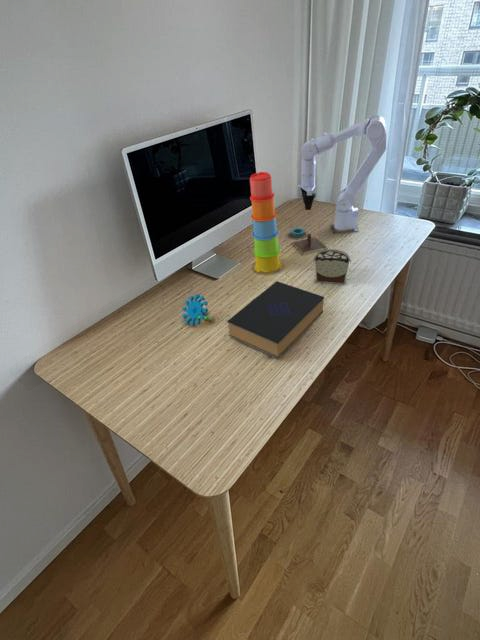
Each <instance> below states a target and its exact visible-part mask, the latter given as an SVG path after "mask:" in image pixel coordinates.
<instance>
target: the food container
mask: <svg viewBox="0 0 480 640" xmlns="http://www.w3.org/2000/svg"><path fill="white" fill-rule="evenodd" d="M312 261H313V262H314V265H315V281H316V283H327V284H339V285H345V282H346V278H347V274H348V269H349V264H350V265H352V260H351V257H350V255H349V253H347V252H346V251H344V250H340V249H334V248H333V249H332V248H331V249H330V248H329V249H324V250H320V251H318V252H317V253H315V255H314V257H313V260H312Z"/></svg>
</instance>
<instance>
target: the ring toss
mask: <svg viewBox="0 0 480 640" xmlns="http://www.w3.org/2000/svg"><path fill="white" fill-rule="evenodd" d="M306 235H307V236H306V239H301V240H296V241H293V242H292V243H293V245H295V246H296V247H297V248H298V249H299V250H300V251H301V252H302V253H303V254H304V253H309V252H312V251H317V250H321V249H325V248H327V247H326V245H324V244H323V243H322V242H321V241H319V240H318V239H317V238H316V237H312V234H311V233H308V234H306Z"/></svg>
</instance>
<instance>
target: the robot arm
mask: <svg viewBox="0 0 480 640" xmlns="http://www.w3.org/2000/svg"><path fill="white" fill-rule="evenodd" d="M356 136H359V137H362V138H365V136H366V137H367V138H368V140H369V141H370V145H371V148H370V150H369V152H368V153H367V155H366V157H365V158H364V159H363V161H362V163H361V164H360V166H359V167H358V169H357V170H356V172H355V173H354V175H353V177H352V178H351V180H350V181H349V183H348V184H347V185H346V186H345V188H343V189H342V190H341V191H340V192H339V193H338V195H337V199H336V203H335V208H334V209H335V210H334V221H333V222H334V224H333V228H334V229H335V230H337V231H351V230H353V231H354V232H358V225H359V224H358V223H359V209H358V207H354V205H353V203H354V202H353V201H355V198H356V196H357V194H358V192H359V190H360V189H361V188H362V186H363V185H364V183H365V182H366V180H367V179H368V178H369V176H370V175H371V173H372V171H373V170H374V169H375V167H376V165H377V164H378V162H379V161H380V159H381V158H382V156H383V155H384V154H385V152H386V150H387V125H386V121H385V119H384V117H383V116H381V115H374V116H371V117H370V118H365V119H362V120H361V121H358V122H356V123H354V124H352V125H350V126H348V127H346V128H344V129H342V130H340V131H338V132H336V133H332V132H324V133H322V135H321V136H319V137H316V138H311V139H310V140H308V141H305V142H304V144H303V145H302V147H301V149H300V156H301V163H300V184H297V188H299V189H300V191H301V197H302V201H303V204H304V209H305V211H311V210H312V208H313V203H314V200H315V198H316V196H317V193H316V192H313V191H314V189H315V188H316V164H317V162H316V155H320V154H323V153H325V152H327V151H331V150H332V149H334V148H335V147H336V144H338V143H340V142H342V141H345V140H348V139H350V138H353V137H356Z"/></svg>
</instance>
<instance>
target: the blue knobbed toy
mask: <svg viewBox="0 0 480 640" xmlns="http://www.w3.org/2000/svg"><path fill="white" fill-rule="evenodd" d="M188 299H189V300H187V299H186V300H185V301H184V305H185V306H183V307H182V308H181V311H182V312H186V314H185V313H182V315H181V316H182V318H183V319H184V323H185V324H187V325H190V326H193V327H194V326H195V324H196V325H200V324H201V320H202V321H204V322H213V319H212V318H210V317H209V316H208V315H207V314H208V312H209V309H208V308H206V307H207V306H208V305H209V302H208V301H207V300H205V299H206V297H205V296H204V295H200V294H197V293H195V295H190V296H189V297H188ZM202 301H203V302H202ZM203 306H206V307H203ZM187 318H188V319H187Z"/></svg>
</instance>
